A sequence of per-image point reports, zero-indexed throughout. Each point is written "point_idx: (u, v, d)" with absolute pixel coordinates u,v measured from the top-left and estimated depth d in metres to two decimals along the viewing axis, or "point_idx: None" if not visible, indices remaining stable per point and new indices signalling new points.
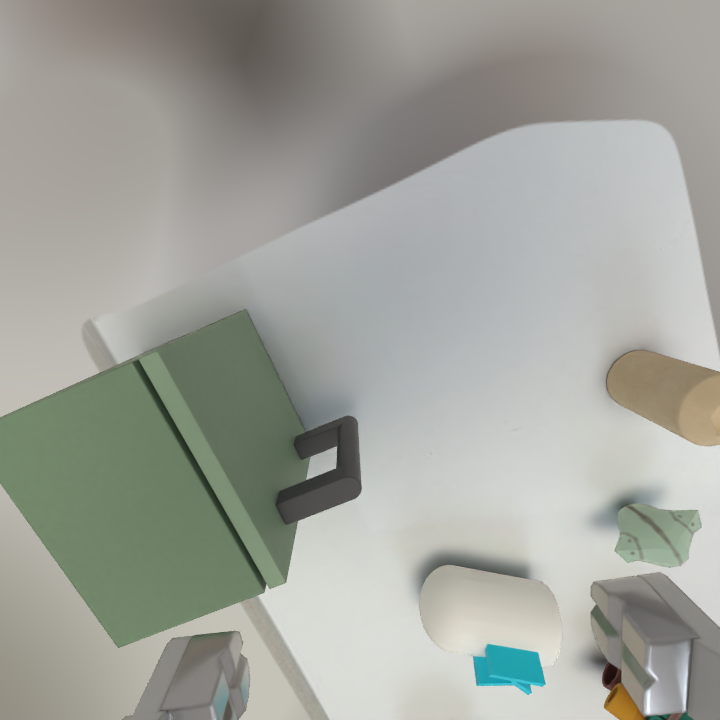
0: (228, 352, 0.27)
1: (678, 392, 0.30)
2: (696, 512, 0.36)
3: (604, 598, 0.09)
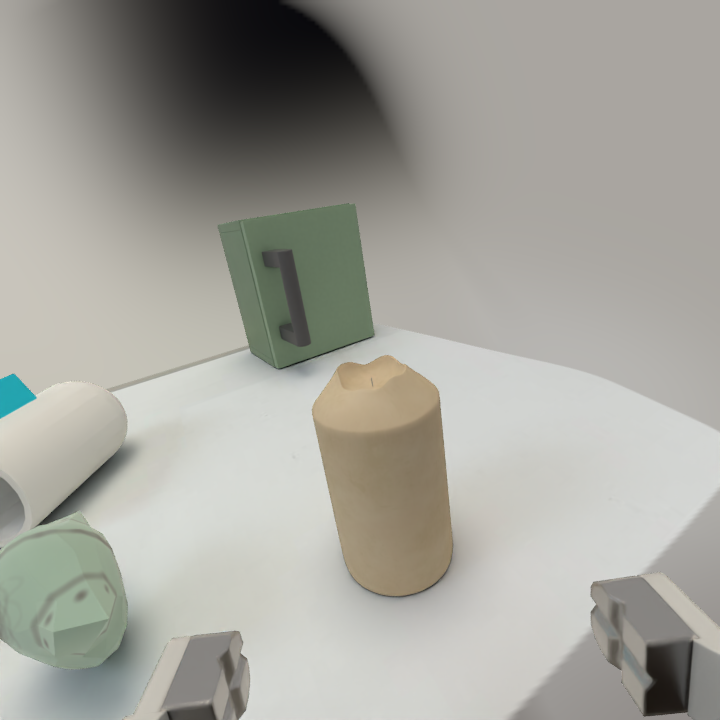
0: (351, 275, 0.50)
1: None
2: (104, 612, 0.14)
3: (604, 598, 0.09)
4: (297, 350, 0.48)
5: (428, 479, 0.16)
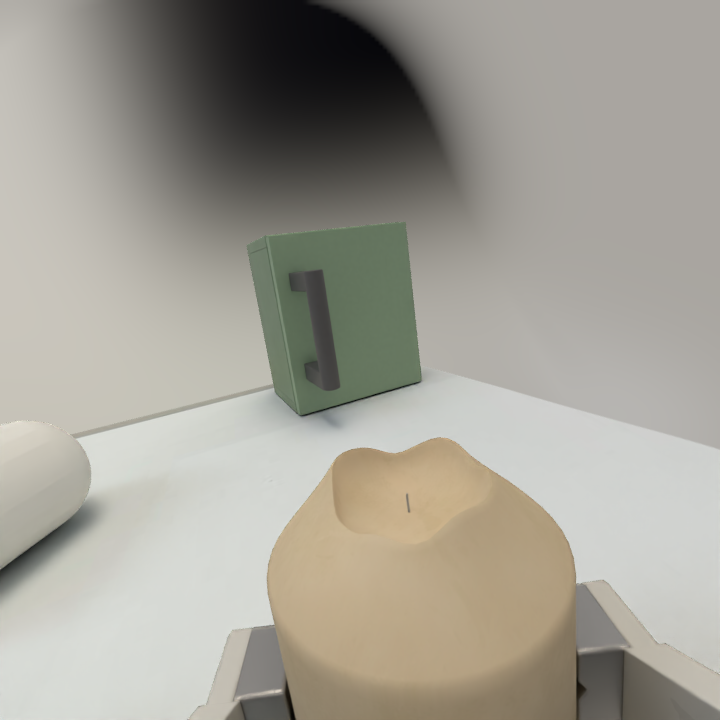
0: (397, 306, 0.41)
1: None
2: None
3: None
4: (325, 394, 0.40)
5: None
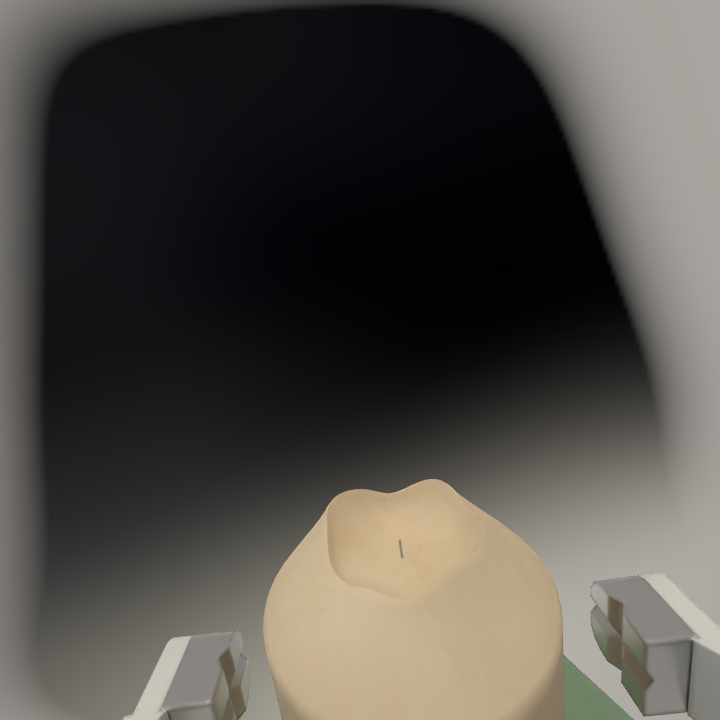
0: None
1: None
2: None
3: (605, 598, 0.09)
4: None
5: None
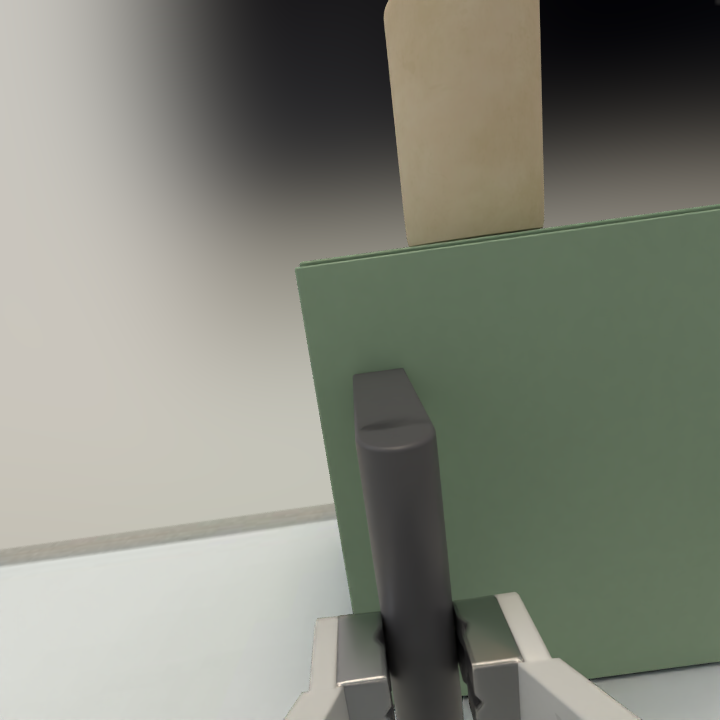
0: (692, 467, 0.13)
1: None
2: None
3: (455, 619, 0.09)
4: None
5: (496, 53, 0.13)
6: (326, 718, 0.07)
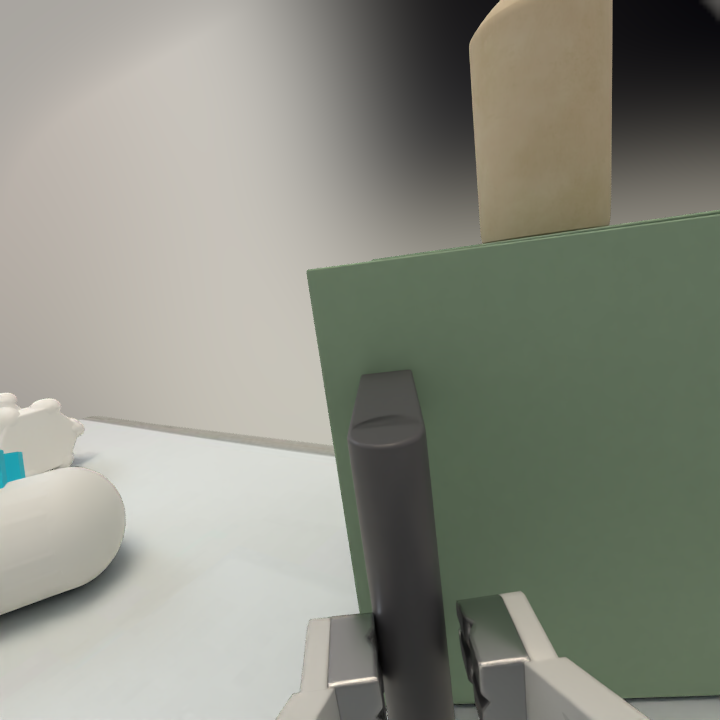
0: (719, 483, 0.13)
1: None
2: None
3: (461, 618, 0.09)
4: None
5: (539, 82, 0.15)
6: (317, 719, 0.07)
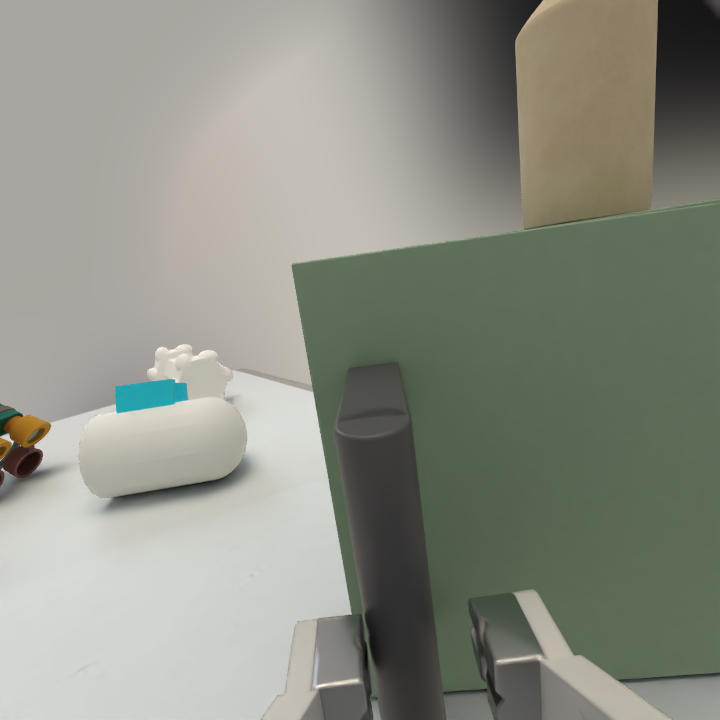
0: (698, 469, 0.13)
1: None
2: None
3: (474, 616, 0.09)
4: None
5: (562, 82, 0.17)
6: None
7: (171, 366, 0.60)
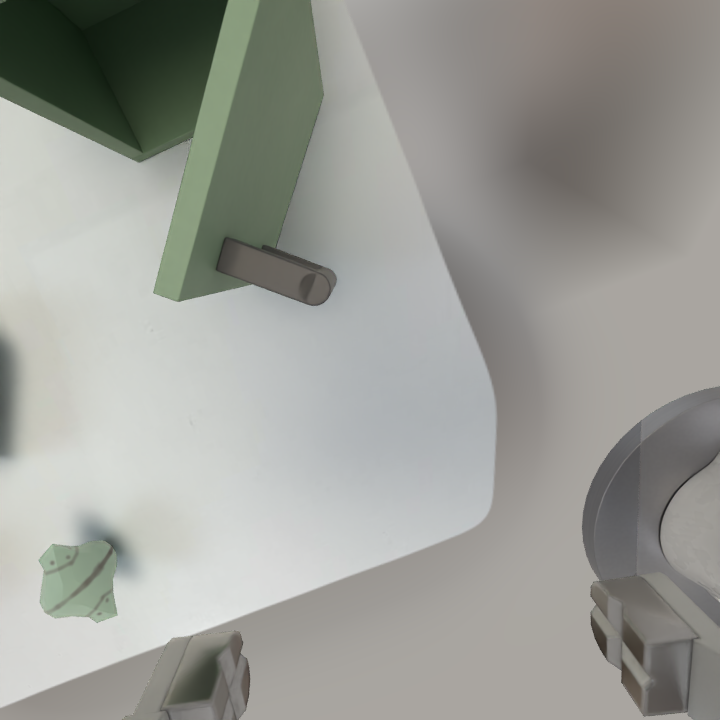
0: (301, 69, 0.21)
1: None
2: (114, 614, 0.33)
3: (605, 598, 0.09)
4: (272, 245, 0.30)
5: None
6: None
7: None
